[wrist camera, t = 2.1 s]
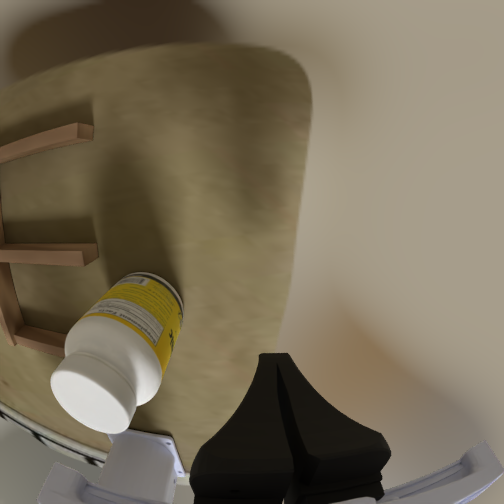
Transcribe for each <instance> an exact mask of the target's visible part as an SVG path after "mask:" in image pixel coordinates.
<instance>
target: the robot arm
mask: <svg viewBox="0 0 504 504" xmlns="http://www.w3.org/2000/svg"><path fill="white" fill-rule="evenodd" d="M107 435H108V437H109V438H110V440H111V442H112V446H111V449H110V451H109V454H108V456H107V459H106V461H105V464H104V466H103V469H102V471H101V474H100V477H99V479H98V482H97V484H95V483H92V482H90V481H87V479H86V478H85V477H84V476H83V475H82V474H81V473H80V472H78V471H76V470H74V469H72V468H69V467H67V466H65V465H63V464H61V463H58V462H54V464H53V466H52V468H51V470H50V472H49V474H48V476H47V478H46V480H45V482H44V484H43V486H42V489H41V491H40V493H39V495H38V497H37V502H38V503H39V504H173V498H174V492H175V487H176V482H177V476H179V477H185V476H186V473H185V471H184V468H183V466H182V463H181V460H180V458H179V455H178V452H177V449H176V446H175V443H174V440H173V438H171V437H170V436H164V435H158V434H152V433H146V432H141V431H136V430H131V429H126V430H125V431H123V432H121V433H116V434H110V433H107ZM390 457H391V450H390V448H389V446H388V444H387V442H386V440H385V439H384V437H383V435H382V434H381V433H379V432H377V431H374V430H372V429H370V428H367V427H365V426H363V425H361V424H359V423H357V422H355V421H354V420H352V419H350V418H349V417H347V416H346V415H344V414H343V413H341V412H340V411H338V410H337V409H336V408H335V407H333V406H332V405H331V404H330V403H328V402H327V401H326V400H325V399H324V398H323V397H322V396H321V395H320V394H319V393H318V392H317V391H316V390H315V389H314V388H313V387H312V386H311V384H310V383H309V382H308V381H307V379H306V378H305V377H304V376H303V375H302V373H301V372H300V370H299V369H298V367H297V366H296V365H295V363H294V362H293V360H292V358H291V357H290V355H289V354H288V353H261V354H260V355H259V362H258V367H257V370H256V373H255V376H254V378H253V381H252V383H251V385H250V388H249V390H248V392H247V394H246V395H245V397H244V399H243V401H242V402H241V404H240V405H239V407H238V408H237V410H236V411H235V413H234V414H233V415H232V417H231V418H230V419H229V420H228V421H227V423H226V424H225V425H224V426H223V427H222V428H221V429H220V430H219V431H218V432H217V433H216V434H215V435H214V436H213V437H212V438H211V439H209V440H208V441H207V442H206V443H205V444H204V445H202V446H201V448H200V450H199V451H198V453H197V455H196V457H195V459H194V462H193V464H192V467H191V471H190V478H189V483H190V485H191V488H192V490H193V492H194V494H195V497H194V504H282V502H283V499H284V504H466V503H468V502H470V501H471V500H473V499H474V498H476V497H477V496H478V495H479V494H481V493H482V492H483V491H484V490H485V489H487V488H488V487H489V486H490V485H491V484H492V483H494V481H496V480H497V479H498V478H499V477H500V476H501V475H502V474H503V473H504V468H503V466H502V465H501V463H500V461H499V460H498V458H497V457H496V455H495V453H494V452H493V450H492V449H491V447H490V446H489V444H488V443H487V441H486V440H484V441H482V442H480V443H478V444H477V445H475V446H474V447H472V448H470V449H469V450H467V451H466V452H465V453H464V454H463V455H462V457H461V458H460V459H459V460H458V461H456V462H454V463H452V464H450V465H447V466H445V467H443V468H442V469H439V470H437V471H435V472H432V473H430V474H428V475H425V476H423V477H420V478H418V479H415V480H413V481H410V482H407V483H405V484H402V485H399V486H396V487H393V488H390V489H387V490H383V487H382V485H381V482H380V481H381V480H382V475H381V472H380V471H381V470H382V469H383V467H384V466H385V465H386V463H387V462H388V460H389V459H390Z"/></svg>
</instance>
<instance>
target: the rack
mask: <svg viewBox="0 0 504 504" xmlns="http://www.w3.org/2000/svg"><path fill="white" fill-rule="evenodd" d="M93 129H94V126H91V125H87V124H83V123H79V122H77V123H73V124H69V125H65V126H62V127H58V128H54V129H51V130H48V131H44V132H41V133H38V134H35V135H32V136H29V137H26V138H23V139H20V140H17V141H15V142H12V143H9V144H7V145H4V146H2V147H0V164H2V163H5V162H8V161H11V160H14V159H18V158H21V157H24V156H28V155H31V154H35V153H39V152H42V151H46V150H50V149H54V148H59V147H63V146H68V145H72V144H77V143H82V142H87V141H93ZM97 258H98V249H97V243H28V244H5V238H4V231H3V222H2V212H1V198H0V323H1V326H2V328H3V331H4V334H5V336H6V339H7V342H8V344H9V345H12V346H15V345H16V344H19V345H22V346H25V347H28V348H32V349H35V350H38V351H42V352H45V353H49V354H52V355H56V356H60V357H64V358H65V341H66V337H67V334H62V333H57V332H53V331H48V330H44V329H40V328H35V327H31V326H27V325H25V323H24V320H23V317H22V314H21V311H20V307H19V304H18V300H17V297H16V293H15V289H14V285H13V281H12V276H11V272H10V267H9V262H10V263H26V264H43V265H63V266H86V265H87V264H89V263H90V262H92V261H94V260H95V259H97Z"/></svg>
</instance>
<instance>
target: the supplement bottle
mask: <svg viewBox="0 0 504 504" xmlns="http://www.w3.org/2000/svg"><path fill="white" fill-rule="evenodd" d="M183 319H184V309H183V304H182V301H181V299H180V297H179V295H178V293H177V292H176V290H175V289H174V288H173V287H172V286H171V285H170V284H169V283H168V282H167V281H165V280H164V279H162V278H161V277H159V276H157V275H154V274H151V273H146V272H136V273H132V274H129V275H127V276H125V277H123V278H122V279H121V280H120V281H118V282H117V283H116V284H115V285H114V286H113V287H112V288H111V289H110V290H109V291H108V292H107V293H106V294H105V295H104V296H103V297H102V298H100V300H99V301H98V302H96V303H95V304H94V305H93V306H92V307H91V308H90V309H89V310H88V311H87V312H86V313H85V314H84V315H83V316H82V317H81V318H80V319H79V320H78V321H77V322H76V323H75V325H74V326H73V327H72V328H71V330H70V331H69V333H68V335H67V337H66V341H65V358H64V359H63V360H62V362H61V363H60V364H59V366H58V367H57V368H56V369H55V371H54V372H53V374H52V376H51V388H52V391H53V393H54V395H55V397H56V399H57V400H58V402H59V403H60V404H61V406H62V407H63V408H64V409H65V410H66V411H67V412H68V413H69V414H70V415H71V416H72V417H74V418H75V419H76V420H77V421H79V422H81V423H82V424H84V425H86V426H88V427H90V428H92V429H94V430H97V431H100V432H103V433H110V434H116V433H121V432H123V431H125V430H126V429H127V428H128V427H129V425H130V422H131V420H132V417H133V415H134V413H135V411H136V406H139V405H142V404H145V403H146V402H148V401H149V400H151V399H152V398H153V397H154V395H155V394H156V392H157V391H158V389H159V386H160V384H161V381H162V379H163V376H164V373H165V370H166V367H167V364H168V362H169V359H170V357H171V354H172V351H173V348H174V345H175V342H176V340H177V337H178V335H179V332H180V329H181V327H182V323H183Z"/></svg>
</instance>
